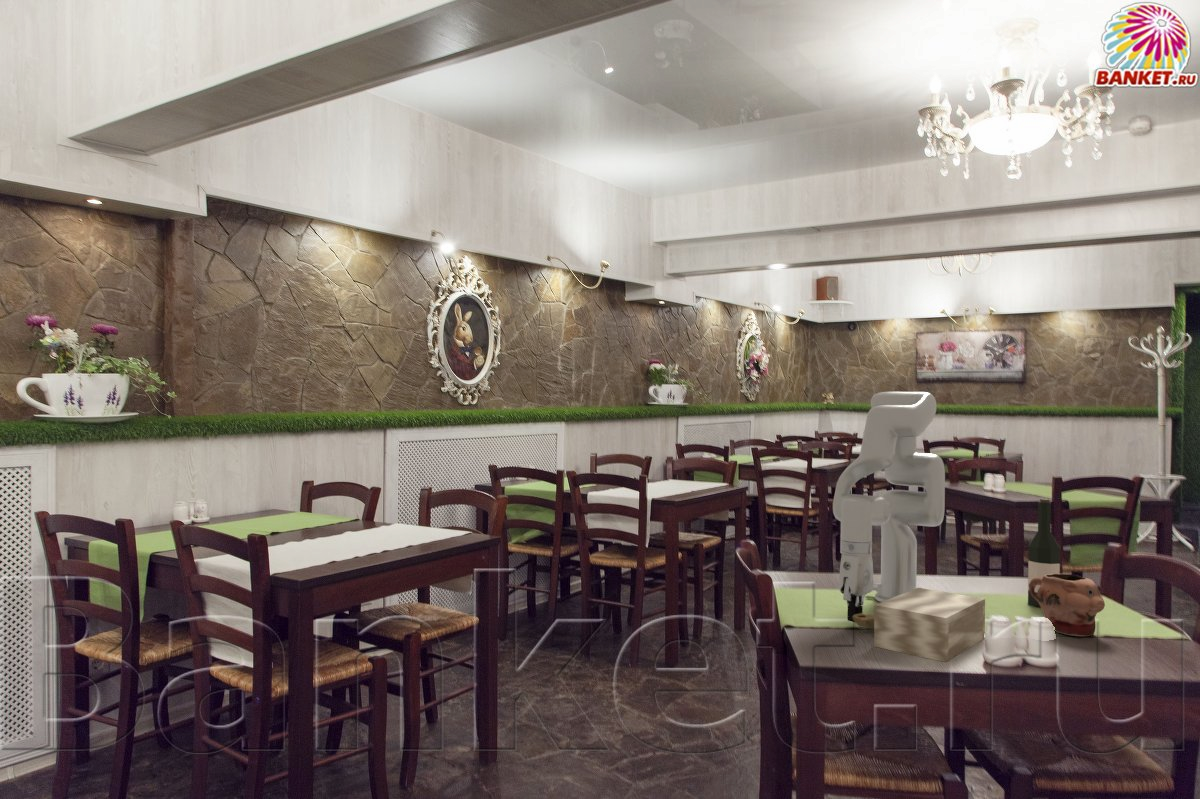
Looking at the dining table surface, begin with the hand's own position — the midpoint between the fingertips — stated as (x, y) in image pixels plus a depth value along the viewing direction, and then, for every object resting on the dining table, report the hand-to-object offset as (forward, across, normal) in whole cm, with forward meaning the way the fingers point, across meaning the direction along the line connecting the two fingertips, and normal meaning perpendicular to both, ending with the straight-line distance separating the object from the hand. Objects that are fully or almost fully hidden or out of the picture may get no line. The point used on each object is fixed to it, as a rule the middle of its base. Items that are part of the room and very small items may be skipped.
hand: (854, 621), depth 201 cm
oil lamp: (+2, +1, -8) cm, 8 cm away
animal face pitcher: (+2, +36, -38) cm, 52 cm away
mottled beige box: (+1, 0, -19) cm, 19 cm away
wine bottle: (+1, +61, -27) cm, 67 cm away
